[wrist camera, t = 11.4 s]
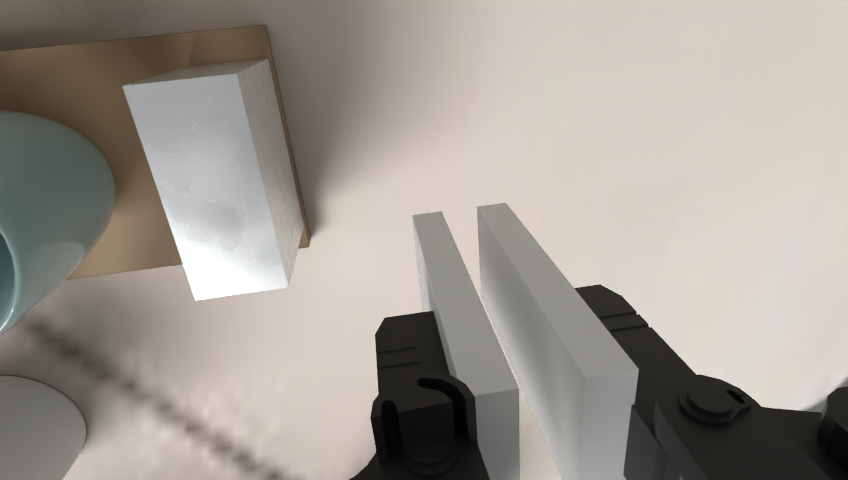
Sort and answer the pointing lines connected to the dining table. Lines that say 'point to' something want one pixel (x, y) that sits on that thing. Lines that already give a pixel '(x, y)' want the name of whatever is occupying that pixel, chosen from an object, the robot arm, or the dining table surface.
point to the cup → (46, 208)
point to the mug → (37, 431)
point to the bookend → (222, 174)
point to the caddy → (125, 123)
